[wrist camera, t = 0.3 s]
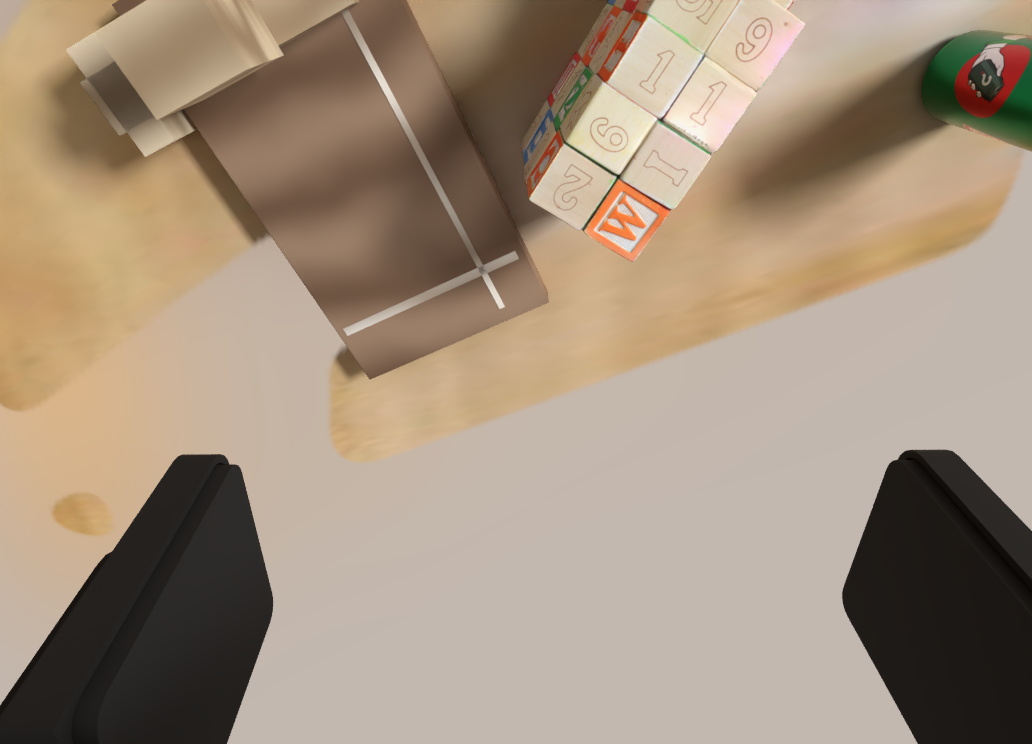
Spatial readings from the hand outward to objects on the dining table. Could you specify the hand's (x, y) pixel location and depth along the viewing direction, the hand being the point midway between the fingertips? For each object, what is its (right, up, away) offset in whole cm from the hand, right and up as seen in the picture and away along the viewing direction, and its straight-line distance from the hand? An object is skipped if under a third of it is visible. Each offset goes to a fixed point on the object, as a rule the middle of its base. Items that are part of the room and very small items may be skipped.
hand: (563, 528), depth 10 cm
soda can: (+26, +20, +30) cm, 45 cm away
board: (-10, +15, +32) cm, 37 cm away
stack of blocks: (+8, +23, +28) cm, 37 cm away
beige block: (-17, +21, +28) cm, 39 cm away
